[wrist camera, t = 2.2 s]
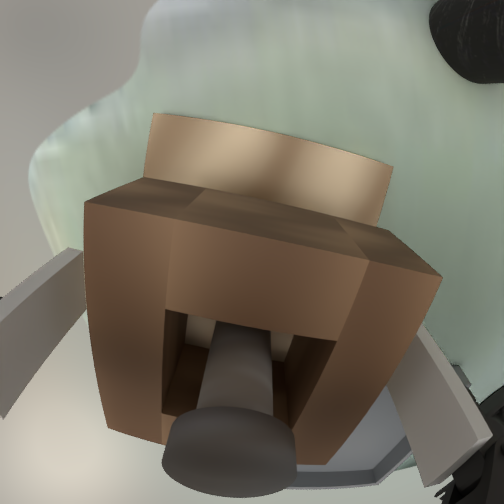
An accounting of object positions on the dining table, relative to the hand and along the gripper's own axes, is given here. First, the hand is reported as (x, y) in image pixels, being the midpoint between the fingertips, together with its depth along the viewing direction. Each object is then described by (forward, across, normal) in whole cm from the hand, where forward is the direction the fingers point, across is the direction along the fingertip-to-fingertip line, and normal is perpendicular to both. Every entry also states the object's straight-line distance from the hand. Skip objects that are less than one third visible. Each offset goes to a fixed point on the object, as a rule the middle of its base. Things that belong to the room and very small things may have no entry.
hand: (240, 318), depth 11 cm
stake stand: (+9, 0, 0) cm, 9 cm away
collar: (+1, 0, 0) cm, 1 cm away
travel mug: (+9, -12, -19) cm, 24 cm away
